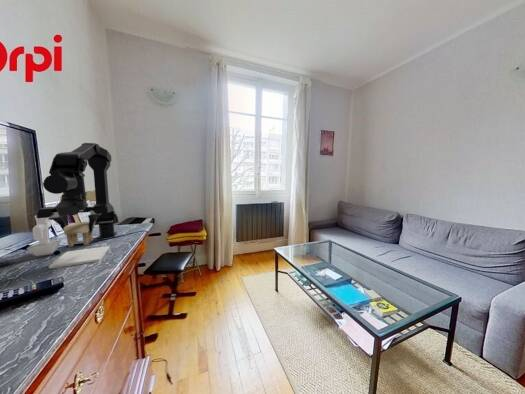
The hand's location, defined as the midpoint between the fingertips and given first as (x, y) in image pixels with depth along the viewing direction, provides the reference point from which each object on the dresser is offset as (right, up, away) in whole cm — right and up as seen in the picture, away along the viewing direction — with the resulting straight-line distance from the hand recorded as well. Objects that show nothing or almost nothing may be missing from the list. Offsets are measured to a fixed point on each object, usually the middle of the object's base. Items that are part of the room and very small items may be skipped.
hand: (79, 233), depth 72 cm
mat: (0, -9, +1) cm, 9 cm away
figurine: (-17, -8, +5) cm, 20 cm away
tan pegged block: (0, -3, 0) cm, 4 cm away
